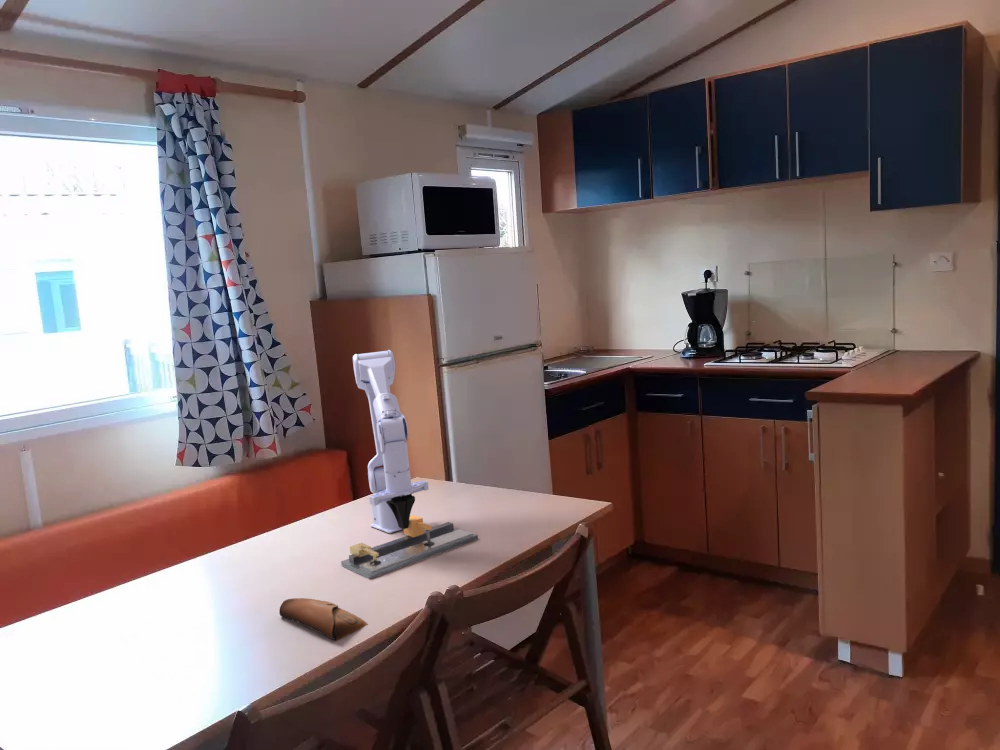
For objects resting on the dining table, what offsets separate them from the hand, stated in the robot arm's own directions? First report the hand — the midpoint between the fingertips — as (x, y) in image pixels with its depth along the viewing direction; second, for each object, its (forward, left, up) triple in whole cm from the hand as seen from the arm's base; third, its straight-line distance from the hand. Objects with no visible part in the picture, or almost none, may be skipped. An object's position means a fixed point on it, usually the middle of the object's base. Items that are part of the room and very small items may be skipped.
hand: (403, 527), depth 182 cm
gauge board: (+3, 0, -5) cm, 6 cm away
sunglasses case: (+20, -31, -6) cm, 37 cm away
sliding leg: (+3, +3, -3) cm, 5 cm away
